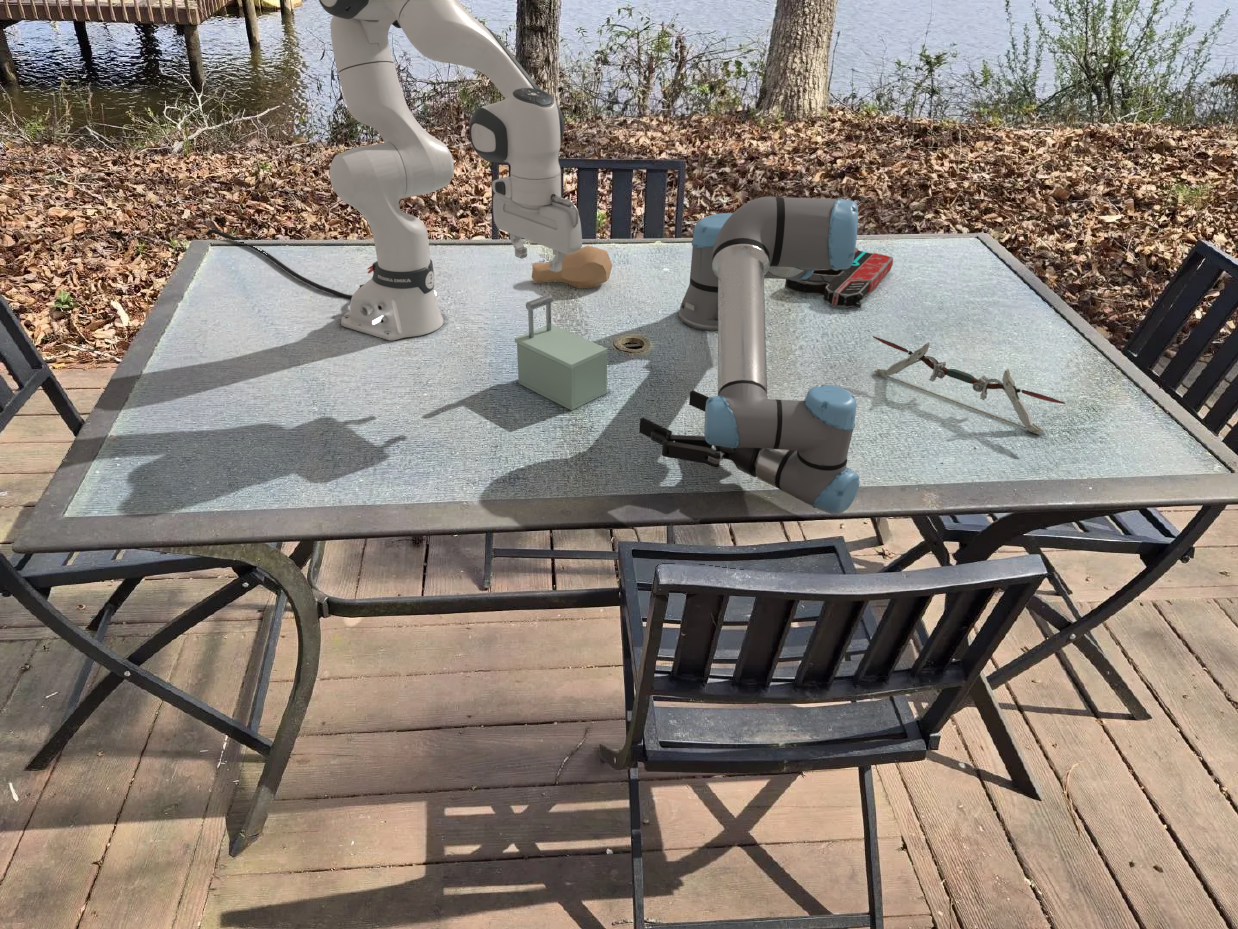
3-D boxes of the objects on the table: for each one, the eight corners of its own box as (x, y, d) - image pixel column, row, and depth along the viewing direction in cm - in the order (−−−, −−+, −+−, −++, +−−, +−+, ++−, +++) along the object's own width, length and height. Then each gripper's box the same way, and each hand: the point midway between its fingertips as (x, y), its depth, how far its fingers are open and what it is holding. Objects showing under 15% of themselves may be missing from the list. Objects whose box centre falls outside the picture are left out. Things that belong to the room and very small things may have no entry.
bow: (1055, 436, 162) (1072, 389, 156) (1051, 440, 160) (1068, 392, 155) (868, 367, 183) (877, 323, 177) (863, 370, 182) (872, 326, 176)
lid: (514, 342, 169) (512, 302, 165) (551, 327, 175) (550, 288, 171) (571, 369, 161) (570, 327, 156) (607, 352, 167) (608, 312, 162)
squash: (613, 292, 213) (609, 260, 207) (532, 299, 215) (526, 267, 209) (614, 269, 221) (610, 237, 215) (536, 276, 223) (529, 244, 217)
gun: (782, 277, 212) (859, 296, 204) (826, 238, 234) (898, 255, 226) (779, 294, 214) (856, 314, 207) (823, 255, 236) (894, 271, 229)
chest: (518, 383, 174) (516, 343, 169) (554, 367, 180) (553, 328, 175) (571, 410, 165) (571, 369, 161) (606, 393, 171) (607, 352, 167)
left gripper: (590, 198, 151) (589, 274, 159) (511, 173, 163) (514, 245, 170) (564, 206, 147) (564, 284, 155) (485, 180, 159) (489, 253, 166)
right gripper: (717, 508, 137) (618, 456, 149) (805, 447, 152) (708, 404, 164) (721, 468, 133) (619, 417, 144) (811, 410, 148) (711, 368, 160)
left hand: (538, 263), depth 163 cm, fingers open, 8 cm apart
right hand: (666, 410), depth 154 cm, fingers open, 13 cm apart
